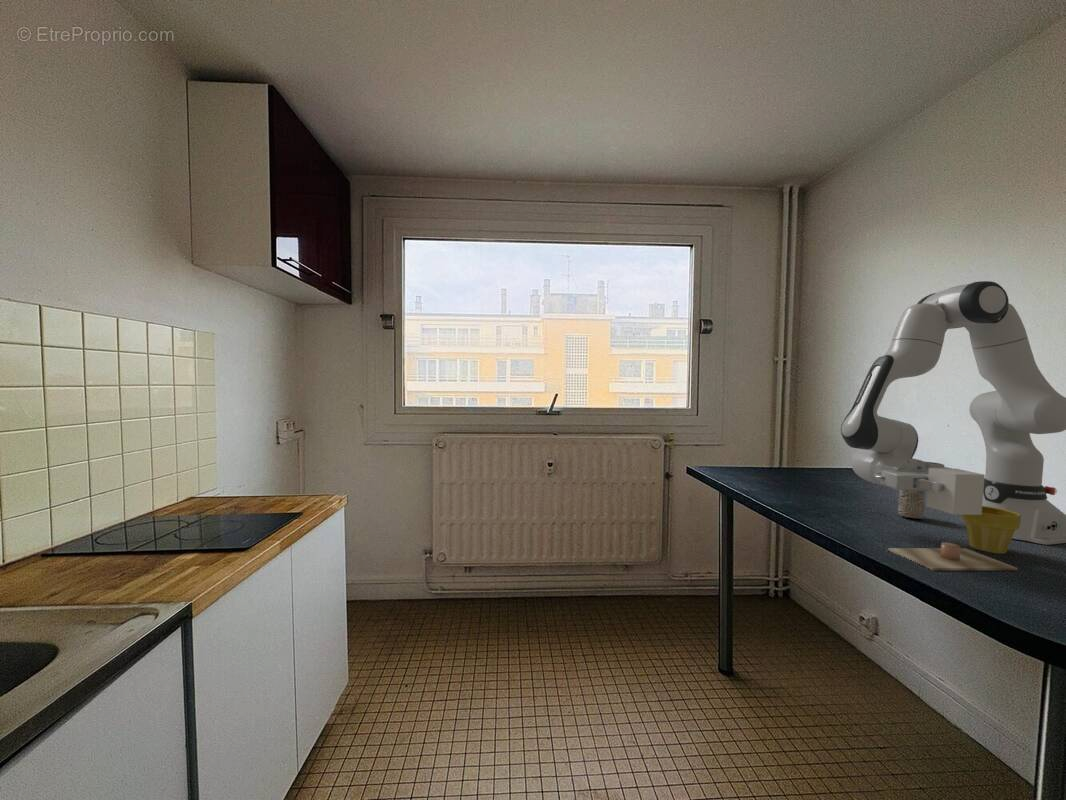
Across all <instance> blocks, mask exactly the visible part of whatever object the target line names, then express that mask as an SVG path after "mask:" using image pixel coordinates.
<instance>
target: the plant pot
mask: <svg viewBox="0 0 1066 800" xmlns="http://www.w3.org/2000/svg"><path fill="white" fill-rule="evenodd" d="M961 516H962V517H961V518H962V520H963V521H964V522H965V527H966V532H967V537H968V542H969V546H970V547H971V548H973V549H975V550H978V551H982V552H985V551H986V552H985V553H990V552H991V554H997V555H998V554H999V555H1000V554H1002V555H1003V554H1006V553H1007V552H1008V549H1009V547H1010V544H1011V542H1012V537H1013V534H1014V532H1015V530H1017V529H1019V526H1020V519H1021V516H1020V514H1018V513H1016V512H1012V511H1009V510H1005V509H1000V508H995V507H988V506H982V515H961Z"/></svg>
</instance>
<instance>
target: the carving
mask: <svg viewBox="0 0 1066 800" xmlns="http://www.w3.org/2000/svg"><path fill="white" fill-rule="evenodd" d="M898 492H899V494H898V507H897V511H898V514H899V515H900V516H901V517H903V518H909V519H919V520H922V519H924V515H925V491H919V492H917V493H912V494H911V493H906V492H902V491H899V490H898Z"/></svg>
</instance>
